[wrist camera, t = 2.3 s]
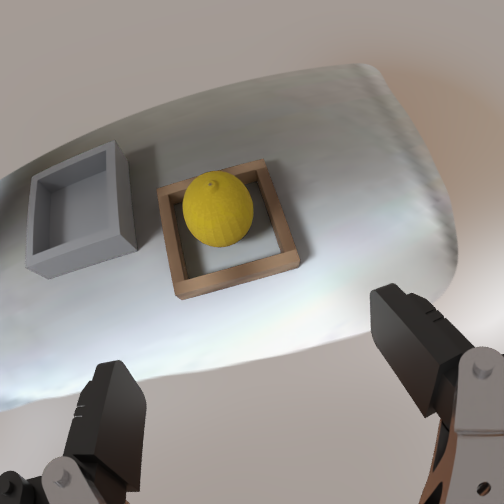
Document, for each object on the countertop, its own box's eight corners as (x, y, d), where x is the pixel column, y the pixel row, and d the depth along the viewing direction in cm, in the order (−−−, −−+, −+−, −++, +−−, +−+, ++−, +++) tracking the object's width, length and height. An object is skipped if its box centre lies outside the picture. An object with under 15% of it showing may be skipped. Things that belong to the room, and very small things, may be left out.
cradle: (181, 300, 27) (175, 295, 25) (162, 199, 30) (156, 188, 28) (298, 267, 27) (300, 260, 25) (263, 170, 31) (263, 158, 29)
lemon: (198, 264, 28) (173, 227, 20) (192, 209, 30) (169, 160, 22) (260, 253, 28) (257, 211, 20) (250, 199, 30) (243, 146, 22)
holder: (48, 279, 28) (25, 267, 24) (49, 193, 32) (31, 176, 28) (137, 250, 29) (120, 234, 25) (128, 161, 32) (114, 139, 29)
